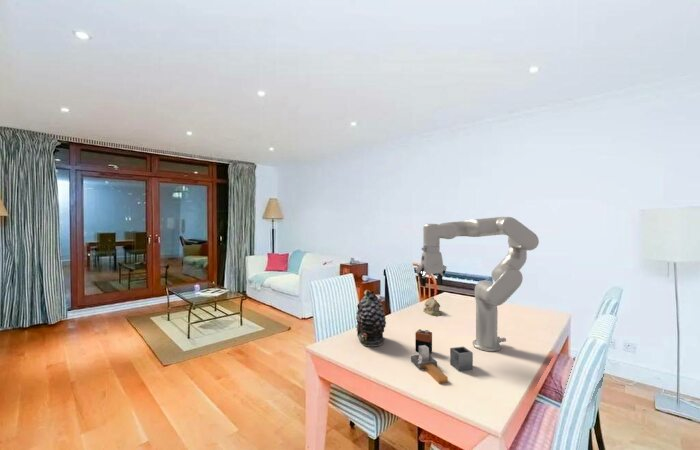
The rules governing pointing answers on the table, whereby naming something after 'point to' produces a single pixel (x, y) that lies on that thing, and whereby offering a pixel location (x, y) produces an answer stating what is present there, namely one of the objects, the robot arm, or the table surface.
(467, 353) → the hollow square tube
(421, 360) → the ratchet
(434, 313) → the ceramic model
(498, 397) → the table surface
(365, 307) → the dark pine cone
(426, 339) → the battery
